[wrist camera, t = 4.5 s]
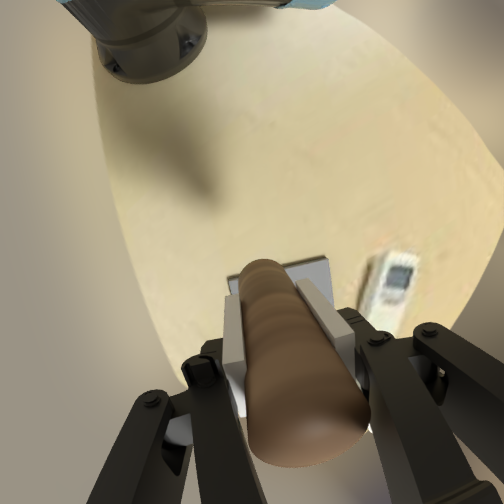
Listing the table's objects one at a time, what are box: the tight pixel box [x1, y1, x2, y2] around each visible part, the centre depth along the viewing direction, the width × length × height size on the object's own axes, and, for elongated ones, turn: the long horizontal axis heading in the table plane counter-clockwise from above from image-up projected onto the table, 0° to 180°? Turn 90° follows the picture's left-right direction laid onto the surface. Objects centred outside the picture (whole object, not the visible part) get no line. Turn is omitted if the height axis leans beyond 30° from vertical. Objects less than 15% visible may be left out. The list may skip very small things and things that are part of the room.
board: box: [229, 257, 334, 307], centre depth 38 cm, size 20×13×1 cm, turn 12°
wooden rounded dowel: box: [238, 259, 371, 468], centre depth 13 cm, size 4×4×14 cm
